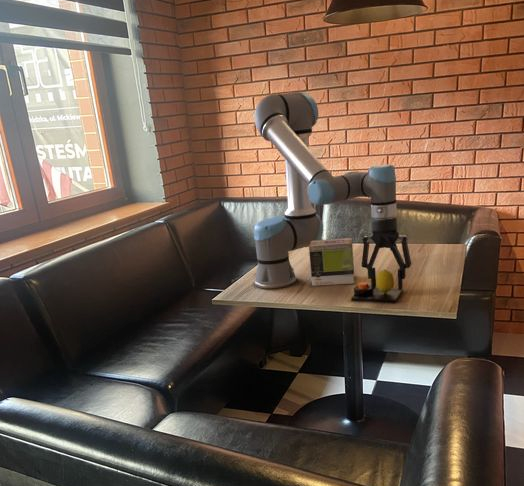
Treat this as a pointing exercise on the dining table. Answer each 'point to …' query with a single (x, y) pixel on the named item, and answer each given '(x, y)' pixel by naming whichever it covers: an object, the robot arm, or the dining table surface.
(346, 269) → the tea box
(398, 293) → the scale
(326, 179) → the robot arm
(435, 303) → the dining table surface
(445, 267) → the dining table surface
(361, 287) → the button
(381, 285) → the lemon
